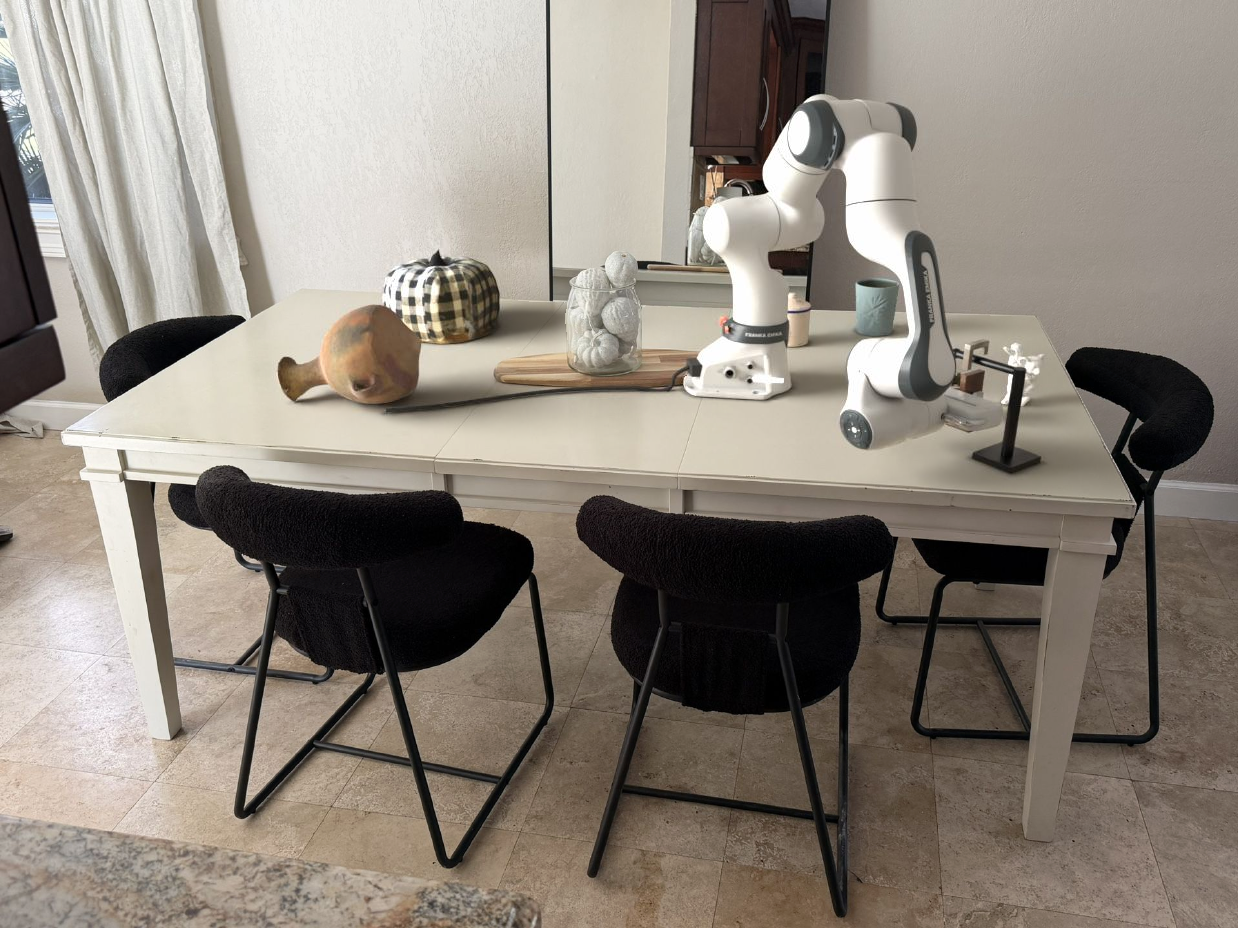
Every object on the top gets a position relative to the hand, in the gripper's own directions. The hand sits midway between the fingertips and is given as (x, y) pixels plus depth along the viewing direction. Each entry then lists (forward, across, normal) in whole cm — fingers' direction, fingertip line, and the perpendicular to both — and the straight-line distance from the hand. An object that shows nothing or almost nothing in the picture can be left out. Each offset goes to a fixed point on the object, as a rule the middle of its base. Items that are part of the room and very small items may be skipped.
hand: (973, 393), depth 178 cm
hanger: (-1, 0, +6) cm, 6 cm away
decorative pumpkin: (-45, +124, +10) cm, 132 cm away
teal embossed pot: (+39, +59, +10) cm, 71 cm away
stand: (-1, -4, +10) cm, 10 cm away
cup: (+9, +9, +10) cm, 16 cm away
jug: (-82, +87, +10) cm, 120 cm away
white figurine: (+25, +8, +10) cm, 28 cm away
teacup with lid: (+15, +65, +10) cm, 68 cm away
